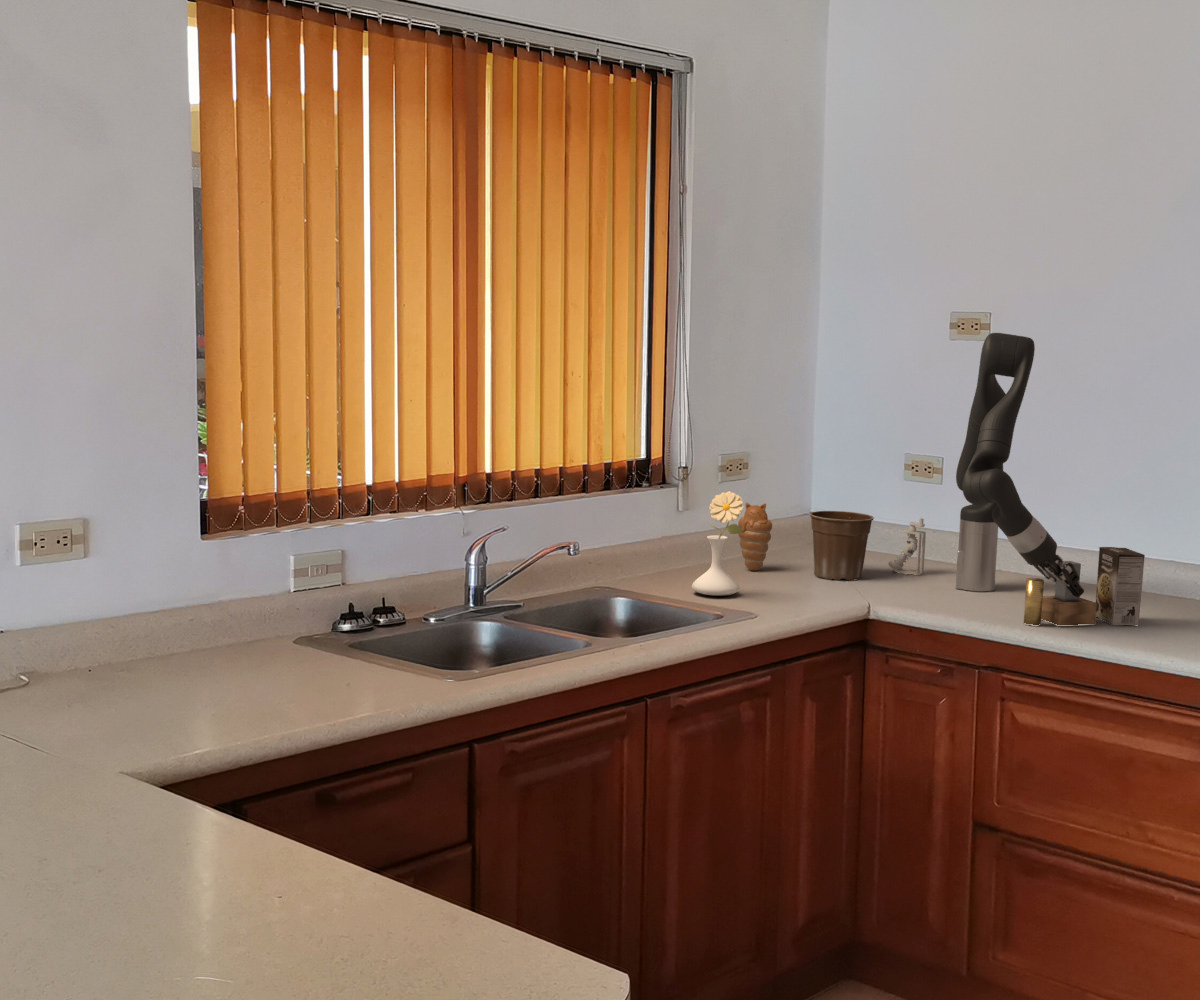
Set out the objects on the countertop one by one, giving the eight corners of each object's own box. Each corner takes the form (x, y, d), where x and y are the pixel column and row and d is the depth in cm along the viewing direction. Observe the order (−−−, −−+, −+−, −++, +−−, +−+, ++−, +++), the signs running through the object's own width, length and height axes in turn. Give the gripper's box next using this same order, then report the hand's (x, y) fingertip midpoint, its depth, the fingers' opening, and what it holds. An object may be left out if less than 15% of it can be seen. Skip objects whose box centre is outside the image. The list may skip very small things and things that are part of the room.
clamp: (892, 569, 352) (895, 514, 350) (926, 574, 347) (929, 517, 345) (885, 571, 349) (888, 515, 347) (919, 576, 343) (923, 519, 341)
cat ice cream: (735, 572, 343) (737, 503, 340) (738, 567, 350) (741, 500, 348) (769, 574, 341) (772, 505, 338) (772, 569, 348) (774, 501, 346)
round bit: (1023, 625, 287) (1026, 580, 286) (1023, 622, 291) (1026, 577, 289) (1041, 626, 286) (1044, 581, 285) (1040, 623, 290) (1043, 578, 288)
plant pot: (880, 575, 342) (883, 514, 340) (856, 585, 329) (860, 521, 327) (821, 568, 351) (824, 508, 349) (796, 577, 338) (799, 515, 335)
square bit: (1063, 617, 290) (1067, 564, 288) (1053, 614, 293) (1057, 561, 291) (1076, 617, 291) (1080, 563, 289) (1067, 613, 294) (1071, 560, 292)
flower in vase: (681, 593, 313) (684, 489, 310) (711, 587, 321) (714, 486, 318) (725, 602, 304) (729, 495, 301) (754, 595, 313) (758, 491, 309)
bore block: (1059, 626, 287) (1061, 604, 286) (1035, 617, 295) (1036, 596, 294) (1095, 625, 289) (1096, 602, 288) (1070, 616, 298) (1071, 594, 297)
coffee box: (1093, 616, 298) (1098, 546, 296) (1120, 617, 298) (1125, 546, 296) (1111, 626, 289) (1117, 553, 287) (1140, 626, 289) (1145, 553, 287)
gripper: (1061, 532, 281) (1106, 586, 285) (1023, 522, 294) (1066, 574, 299) (1038, 557, 280) (1083, 611, 285) (1000, 546, 293) (1044, 598, 298)
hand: (1074, 592), depth 292 cm, fingers closed on square bit, 3 cm apart
